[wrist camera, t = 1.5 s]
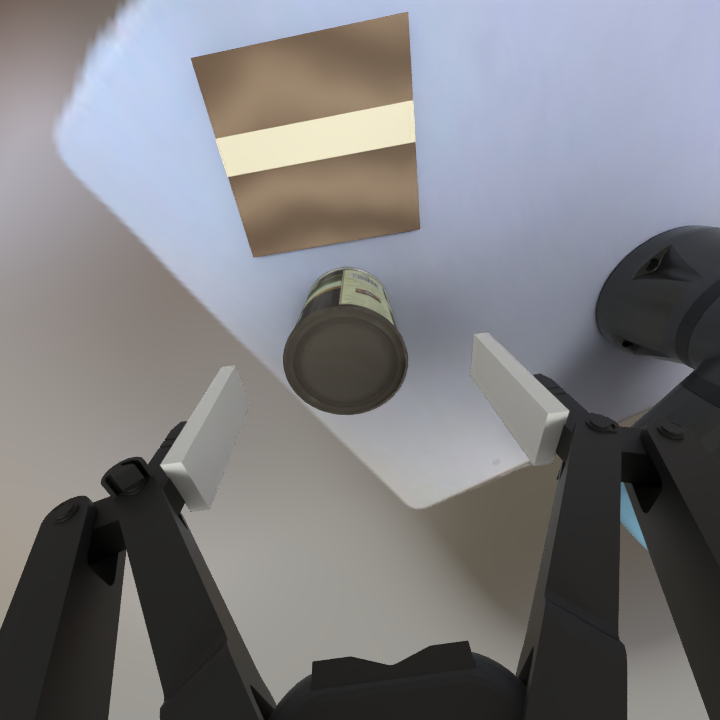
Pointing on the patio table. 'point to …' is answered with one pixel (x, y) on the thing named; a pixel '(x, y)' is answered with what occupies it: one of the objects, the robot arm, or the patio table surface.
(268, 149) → the strip
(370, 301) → the coffee can
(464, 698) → the robot arm
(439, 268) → the patio table surface
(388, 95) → the board
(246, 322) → the patio table surface
